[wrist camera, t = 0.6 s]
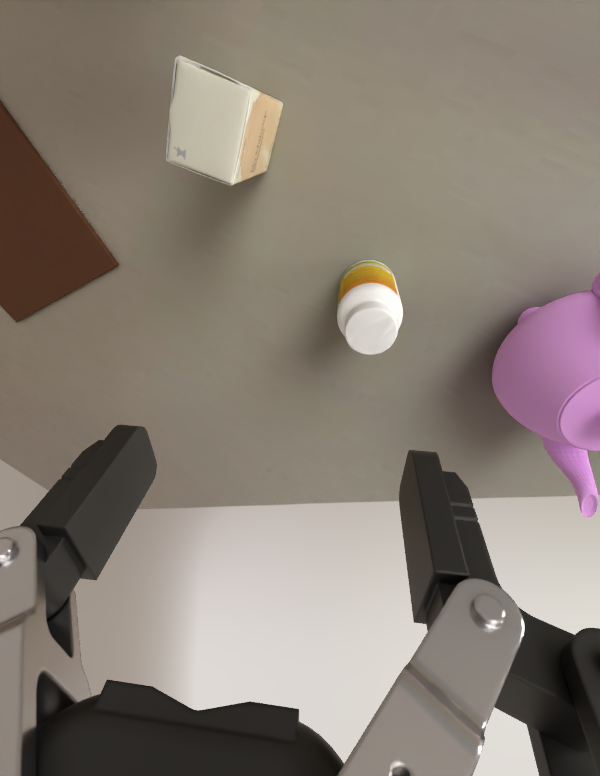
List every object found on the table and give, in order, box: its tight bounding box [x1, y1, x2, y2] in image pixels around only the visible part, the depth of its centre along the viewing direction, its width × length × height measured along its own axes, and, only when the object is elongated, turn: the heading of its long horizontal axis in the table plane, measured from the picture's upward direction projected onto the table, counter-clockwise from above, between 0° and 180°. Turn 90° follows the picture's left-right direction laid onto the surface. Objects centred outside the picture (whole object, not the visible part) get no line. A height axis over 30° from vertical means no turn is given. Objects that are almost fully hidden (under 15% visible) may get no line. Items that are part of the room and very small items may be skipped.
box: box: [166, 55, 283, 186], centre depth 25 cm, size 5×4×11 cm
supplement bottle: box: [337, 260, 403, 355], centre depth 32 cm, size 5×5×10 cm
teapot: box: [492, 273, 600, 517], centre depth 32 cm, size 20×14×12 cm
